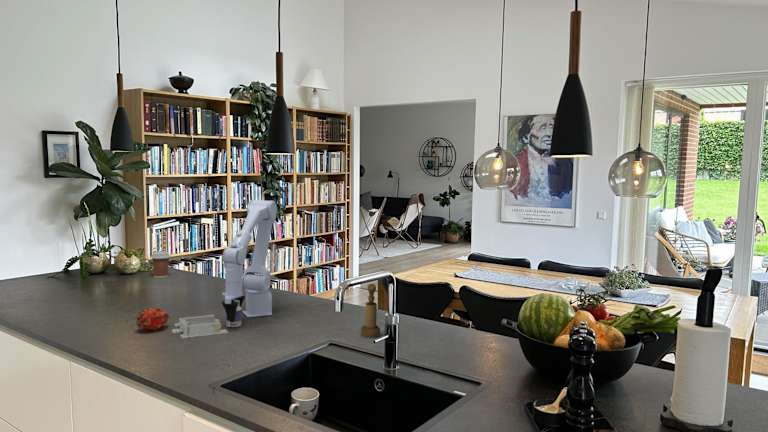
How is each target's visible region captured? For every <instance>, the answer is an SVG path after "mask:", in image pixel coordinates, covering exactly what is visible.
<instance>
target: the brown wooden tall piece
mask: <svg viewBox="0 0 768 432" xmlns="http://www.w3.org/2000/svg"><path fill="white" fill-rule="evenodd" d="M376 290H377V285H376V284H375V283H369V284H368V285H367V291H368V293H369V295H368V297H367V299H368V302H366V303H365V313H364V316H365V318H364V319H365V320H364V325H363V326H362V327H360V335H361V336H362V337H364V338H369V339H371V338H372V339H373V338H378V337H379V335H381V328H380V327H379V326H378V325H377V315H378V314H377V313H378V312H377V311H378V310H377V309H378V307H377V306H378V303H377V302H374V301H375V298H376V297H375V292H376Z"/></svg>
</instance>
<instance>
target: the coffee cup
mask: <svg viewBox="0 0 768 432" xmlns="http://www.w3.org/2000/svg"><path fill="white" fill-rule="evenodd" d="M150 258H151V259H152V269H153V277H154V278H159V279H161V278H167V277H168V276H169V266H170V265H169V264H170V258H171V254H169V251H154V252H153V253H152V255H151V256H150Z"/></svg>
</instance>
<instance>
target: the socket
mask: <svg viewBox="0 0 768 432" xmlns="http://www.w3.org/2000/svg"><path fill="white" fill-rule="evenodd" d="M215 317H216V316H215V314H207V315H199V316H189V317H187V316H186V317H181V318H178V323H177V322H176V323H174V327H175V329H174V328H173V329H171V333H172V334H178V333H182V332H183V333H182V334H180V339H188V337H190V338H196V337H197V336H198V337H204V336H205V337H206V336H212V335H213V336H215V335H222V334H228V333H229V331H228V329H225V328H224V329H222V324H221V322H220V319H219V318H215ZM198 337H197V338H198Z"/></svg>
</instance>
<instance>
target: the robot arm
mask: <svg viewBox="0 0 768 432" xmlns="http://www.w3.org/2000/svg"><path fill="white" fill-rule="evenodd" d="M277 207H278V206H277V204H276V201H274V200H262V199H261V200H259V199H251V200H249V202H248V203H247V206H246V213H247V216H246V218H245V220H244V223H243V226H242V228H241V230H238V231H237V232H236V234H235V236H234V237H233V239H232V241H231V243H230V245H229V247H226V248H225V249H223V252H222V256H221V259H222V262H223V267H224V269H225V292H222V294H221V296H224V300H223V301H222V302H221V305H222V307H223V308H224V310H225V316H226V315H227V319H228V321H234V320H235V316H236V310H237V306H238V304H239V306H240V307H241V308H242V306H243V303H244V301H245V310H243V311H242V313H243V315H245V316H246V317H247V318H255V317H264V316H273V313H272V312H273V311H272V310H273V307H272V306H273V296H272V295H273V294H272V292H271V290H270V286H271V272H270V271H269V270H268V269H267V268H266V263H267V262H266V260H267V255H268V251H269V246H270V245H269V244H270V238H271V233H272V229H273V228H272V227H273V224H275V223H276V220H277V219H276V218H277V213H278V208H277ZM256 226H257V232H256V237H255V243H254V248H253V255H252V260H251V264H250V265H249V266H248V267H246V268H245V269H244V272H243V264H244V263H245V262H246V258H247V253H248V251H247V249H248V247H249V245H250V243H251V241H252V235H251V234H252V232H253V231H254V229H255V228H256ZM243 290H244V292H245V295H243V294H244V293H243ZM234 300H239V302H234Z"/></svg>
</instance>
